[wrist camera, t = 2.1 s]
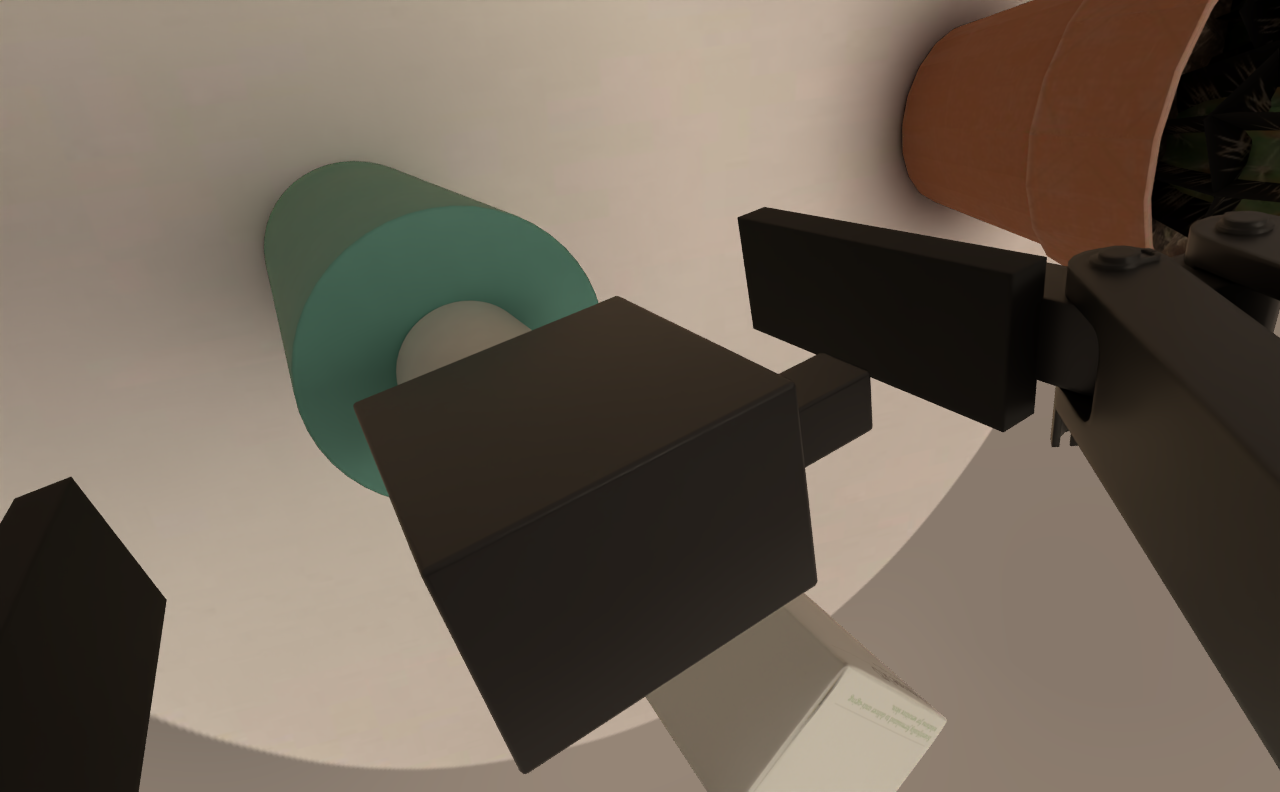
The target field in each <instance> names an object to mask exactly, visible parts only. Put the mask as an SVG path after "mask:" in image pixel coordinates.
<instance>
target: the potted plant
mask: <svg viewBox="0 0 1280 792" xmlns="http://www.w3.org/2000/svg"><path fill="white" fill-rule="evenodd" d="M902 139H903V156H904V160H905V164H906V167H907V171H908V175H909V177H910V179H911V180H912V182H913V183H914V185H915V186H916V188H917V189H918V191H919V192H920V193H921V194H922V195H924V196H926V197H927V198H929V199H931V200H932V201H934V202H936V203H939V204H941V205H944V206H946V207H949V208H952V209H954V210H957V211H959V212H962V213H964V214H967V215H969V216H972V217H974V218H977V219H979V220H982V221H984V222H987V223H989V224H992V225H994V226H997V227H999V228H1002V229H1004V230H1007V231H1010V232H1012V233H1015V234H1017V235H1020V236H1022V237H1025V238H1027V239H1030V240H1032V241H1035V242H1037V243H1040V244H1041V245H1042V247H1043V249H1044V251H1045V253H1046V255H1047V256H1048V257H1050V258H1051V259H1053V260H1055V261H1056V262H1058V263H1059V264H1061V265H1063V266H1068V261H1069V260H1070V259H1071V258H1072V257H1073V256H1074V255H1077V254H1079V253H1082V252H1084V251H1088V250H1093V249H1098V248H1105V247H1110V246H1122V245H1125V246H1132V247H1139V248H1151V249H1154V250H1156V251H1158V252H1160V253H1162V254H1165V255H1167V256H1169V257H1174V256H1177V255H1181V254H1185V251H1186V246H1187V241H1188V235H1189V230H1190V226H1191V225H1192V224H1193V223H1195V222H1196V221H1197V220H1201V219H1204V218H1207V217H1210V216H1217V215H1223V214H1224V213H1226V212H1232V211H1258V212H1263V213H1267V214H1271V215H1277V216H1280V0H1033V1H1030V2H1027V3H1025V4H1022V5H1019V6H1016V7H1013V8H1011V9H1008V10H1005V11H1002V12H999V13H997V14H994V15H991V16H988V17H985V18H983V19H980V20H977V21H974V22H971V23H969V24H966V25H963V26H960V27H957V28H955V29H953V30H952V31H951V32H949V33H948V34H947V35H946V36H945V37H943V38H942V39H941V40H940V41H938V42H937V43H936V44H935V45H934V47H933V48H932V50H931V51H930V53H929V54H928V55H927V57H926V58H925V60H924V61H923V63H922V64H921V66H920V67H919V69H918V72H917V74H916V77H915V79H914V82H913V84H912V87H911V89H910V92H909V94H908V98H907V103H906V108H905V114H904V119H903V124H902Z"/></svg>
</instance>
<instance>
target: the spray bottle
mask: <svg viewBox="0 0 1280 792" xmlns="http://www.w3.org/2000/svg"><path fill="white" fill-rule="evenodd" d="M264 254H265V262H266V267H267V272H268V276H269V281H270V285H271V290H272V295H273V299H274V304H275V309H276V313H277V318H278V322H279V327H280V332H281V336H282V341H283V346H284V350H285V355H286V359H287V364H288V369H289V373H290V378H291V383H292V387H293V392H294V395H295V399H296V403H297V406H298V410H299V413H300V415H301V417H302V420H303V422H304V424H305V426H306V429H307V431H308V432H309V434H310V436H311V437H312V439H313V440H314V442H315V443H316V445H317V446H318V448H319V449H320V450H321V451H322V453H323V454H324V455H325V456H326V457H327V458H328V459H329V460H330V462H331V463H332V464H333V465H335V466H336V467H337V468H338V469H339V470H341V471H342V472H343V473H344V474H345V475H346V476H348V477H349V478H351V479H353V480H354V481H356V482H357V483H359V484H360V485H362V486H364V487H366V488H368V489H370V490H372V491H375V492H377V493H379V494H381V495H384V496H387V497H389V498H390V500H391V503H392V505H393V507H394V510H395V512H396V515H397V517H398V520H399V522H400V525H401V527H402V530H403V532H404V535H405V537H406V540H407V542H408V545H409V547H410V550H411V552H412V555H413V557H414V559H415V562H416V564H417V567H418V569H419V572H420V574H421V577H422V579H423V581H424V583H425V585H426V586H427V588H428V590H429V592H430V594H431V596H432V598H433V600H434V602H435V604H436V606H437V608H438V610H439V612H440V614H441V616H442V618H443V620H444V622H445V624H446V626H447V628H448V630H449V632H450V634H451V636H452V638H453V640H454V642H455V644H456V646H457V648H458V650H459V652H460V654H461V656H462V658H463V660H464V662H465V664H466V666H467V668H468V669H469V671H470V673H471V675H472V677H473V679H474V681H475V683H476V685H477V687H478V689H479V691H480V693H481V695H482V697H483V699H484V701H485V703H486V705H487V707H488V709H489V711H490V713H491V715H492V717H493V719H494V721H495V723H496V725H497V727H498V729H499V731H500V733H501V735H502V737H503V739H504V741H505V743H506V745H507V747H508V749H509V750H510V752H511V754H512V756H513V758H514V760H515V762H516V764H517V766H518V768H519V770H520V771H521V772H522V773H523V774H527V773H529V772H530V771H532V770H534V769H535V768H536V767H538V766H540V765H541V764H543V763H544V762H546V761H547V760H549V759H550V758H552V757H553V756H555V755H556V754H558V753H560V752H561V751H563V750H564V749H566V748H567V747H569V746H570V745H572V744H573V743H575V742H576V741H578V740H579V739H581V738H582V737H584V736H586V735H587V734H589V733H590V732H592V731H593V730H595V729H596V728H598V727H599V726H601V725H602V724H604V723H605V722H607V721H608V720H610V719H612V718H613V717H615V716H616V715H618V714H619V713H621V712H622V711H624V710H625V709H627V708H628V707H630V706H631V705H633V704H634V703H636V702H638V701H639V700H641V699H642V698H644V697H645V696H647V695H648V694H650V693H651V692H653V691H654V690H656V689H657V688H659V687H660V686H662V685H664V684H665V683H667V682H668V681H670V680H671V679H673V678H674V677H676V676H677V675H679V674H680V673H682V672H683V671H685V670H686V669H688V668H690V667H691V666H693V665H694V664H696V663H697V662H699V661H700V660H702V659H703V658H705V657H706V656H708V655H709V654H711V653H712V652H714V651H716V650H717V649H719V648H720V647H722V646H723V645H725V644H726V643H728V642H729V641H731V640H732V639H734V638H735V637H737V636H738V635H740V634H742V633H743V632H745V631H746V630H748V629H749V628H751V627H752V626H754V625H755V624H757V623H758V622H760V621H761V620H763V619H764V618H766V617H768V616H769V615H771V614H772V613H774V612H775V611H777V610H778V609H780V608H781V607H783V606H784V605H786V604H787V603H789V602H790V601H792V600H794V599H795V598H797V597H798V596H800V595H801V594H803V593H804V592H806V591H807V590H809V589H810V588H812V587H813V586H815V585H816V583H817V573H816V564H815V555H814V546H813V537H812V527H811V518H810V509H809V500H808V491H807V482H806V473H805V467H807V466H809V465H810V464H812V463H814V462H816V461H817V460H819V459H821V458H823V457H824V456H826V455H828V454H830V453H831V452H833V451H835V450H837V449H838V448H840V447H842V446H844V445H845V444H847V443H849V442H851V441H852V440H854V439H856V438H858V437H859V436H861V435H863V434H865V433H866V432H868V431H870V430H871V429H872V406H871V385H870V374H869V372H868V371H865V370H863V369H861V368H858V367H856V366H853V365H851V364H849V363H846V362H844V361H841V360H839V359H837V358H834V357H832V356H829V355H827V354H825V353H819V354H818V355H816V356H814V357H812V358H810V359H808V360H806V361H804V362H802V363H800V364H798V365H796V366H794V367H792V368H790V369H788V370H786V371H784V372H782V373H780V374H777V373H775V372H773V371H771V370H769V369H767V368H765V367H763V366H761V365H759V364H756V363H754V362H752V361H750V360H748V359H746V358H744V357H742V356H740V355H738V354H736V353H734V352H732V351H730V350H728V349H726V348H724V347H722V346H720V345H718V344H716V343H713V342H711V341H709V340H707V339H705V338H703V337H701V336H699V335H697V334H695V333H693V332H691V331H689V330H687V329H685V328H683V327H681V326H679V325H677V324H675V323H673V322H670V321H668V320H666V319H664V318H662V317H660V316H658V315H656V314H654V313H652V312H650V311H648V310H646V309H644V308H642V307H640V306H638V305H636V304H634V303H632V302H630V301H627V300H625V299H623V298H621V297H619V296H615V297H612V298H610V299H608V300H605V301H603V302H600V303H598V300H597V297H596V294H595V292H594V290H593V287H592V285H591V283H590V281H589V279H588V277H587V275H586V274H585V272H584V271H583V269H582V268H581V266H580V265H579V263H578V262H577V261H576V259H575V258H574V257H573V256H572V255H571V254H570V253H569V251H568V250H567V249H566V248H565V247H564V246H563V245H562V244H560V243H559V242H558V241H557V240H556V239H555V238H554V237H552V236H551V235H550V234H548V233H547V232H545V231H544V230H542V229H541V228H539V227H538V226H536V225H535V224H533V223H531V222H528V221H526V220H524V219H522V218H520V217H518V216H516V215H513V214H510V213H508V212H505V211H503V210H500V209H497V208H495V207H492V206H489V205H487V204H484V203H482V202H479V201H476V200H474V199H471V198H468V197H466V196H463V195H461V194H458V193H455V192H453V191H450V190H447V189H445V188H442V187H440V186H437V185H434V184H432V183H429V182H427V181H424V180H421V179H419V178H416V177H413V176H411V175H408V174H406V173H403V172H400V171H398V170H395V169H392V168H389V167H386V166H383V165H380V164H375V163H369V162H358V161H350V162H339V163H334V164H330V165H326V166H323V167H320V168H318V169H315V170H313V171H311V172H309V173H307V174H306V175H304V176H302V177H301V178H300V179H298V180H297V181H295V182H294V183H293V184H292V185H291V186H290V187H289V188H288V189H287V190H286V191H285V192H284V193H283V194H282V196H281V197H280V198H279V200H278V201H277V203H276V205H275V206H274V208H273V210H272V212H271V214H270V217H269V220H268V223H267V226H266V232H265V237H264Z"/></svg>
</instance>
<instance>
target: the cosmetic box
mask: <svg viewBox="0 0 1280 792" xmlns="http://www.w3.org/2000/svg"><path fill="white" fill-rule="evenodd" d="M645 697H646V698H647V700H648V701H649V703H650V704H651V706H652V707H653V709H654V711H655V712H656V714H657V715H658V717H659V718H660V720H661V721H662V723H663V725H664V726H665V727H666V729H667V731H668V732H669V734H670V735H671V737H672V738H673V740H674V741H675V743H676V744H677V746H678V747H679V749H680V751H681V752H682V754H683V755H684V757H685V758H686V760H687V761H688V763H689V764H690V766H691V767H692V769H693V771H694V772H695V773H696V775H697V777H698V778H699V780H700V781H701V783H702V784H703V786H704V787H705V789H706V790H707V792H896V791H897V790H898V789H899V787H900V786H901V785H902V783H903V782H904V781H905V779H906V778H907V776H908V775H909V774H910V772H911V771H912V770H913V768H914V767H915V766H916V764H917V763H918V762H919V760H920V759H921V758H922V756H923V755H924V754H925V752H926V751H927V749H928V748H929V747H930V745H931V744H932V743H933V741H934V740H935V738H936V737H937V736H938V734H939V733H940V731H941V730H942V728H943V727H944V725H945V724H946V722H947V719H946V718H945V717H944V716H943V715H941V714H940V713H939V712H938V711H937V710H936V709H935V708H933V707H932V706H931V705H930V704H929V703H928V702H927V701H925V700H924V699H923V698H922V697H921V696H920V695H919V694H918V693H916V692H915V691H914V690H913V689H912V688H911V687H910V686H908V685H907V684H906V683H905V682H904V681H903V680H902V679H900V678H899V677H898V676H897V675H896V674H895V673H894V672H893V671H891V670H890V669H889V668H888V667H887V666H886V665H885V664H884V663H882V662H881V661H880V660H879V659H878V658H877V657H876V656H874V655H873V654H872V653H871V652H870V651H869V650H868V649H867V648H865V647H864V646H863V645H862V644H861V643H860V642H859V641H858V640H856V639H855V638H854V637H853V636H852V635H851V634H850V633H848V632H847V631H846V630H845V629H844V628H843V627H842V626H841V625H839V624H838V623H837V622H836V621H835V620H834V619H833V618H832V617H830V616H829V615H828V614H827V613H826V612H825V611H824V610H823V609H821V608H820V607H819V606H818V605H817V604H816V603H815V602H814V601H812V600H811V599H810V598H809V597H808V596H807V595H806V594H804V593H803V594H801V595H800V596H798V597H797V598H795V599H794V600H792V601H790V602H789V603H787V604H786V605H784V606H783V607H781V608H780V609H778V610H777V611H775V612H774V613H772V614H771V615H769V616H768V617H766V618H764V619H763V620H761V621H760V622H758V623H757V624H755V625H754V626H752V627H751V628H749V629H748V630H746V631H745V632H743V633H742V634H740V635H738V636H737V637H735V638H734V639H732V640H731V641H729V642H728V643H726V644H725V645H723V646H722V647H720V648H719V649H717V650H716V651H714V652H712V653H711V654H709V655H708V656H706V657H705V658H703V659H702V660H700V661H699V662H697V663H696V664H694V665H693V666H691V667H690V668H688V669H686V670H685V671H683V672H682V673H680V674H679V675H677V676H676V677H674V678H673V679H671V680H670V681H668V682H667V683H665V684H664V685H662V686H660V687H659V688H657V689H656V690H654V691H653V692H651V693H650V694H648V695H647V696H645Z"/></svg>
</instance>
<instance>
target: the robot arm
mask: <svg viewBox="0 0 1280 792" xmlns="http://www.w3.org/2000/svg"><path fill="white" fill-rule="evenodd" d="M738 224H739V231H740V238H741V245H742V252H743V259H744V266H745V272H746V279H747V286H748V293H749V300H750V307H751V314H752V321H753V328H754V329H756V330H759V331H761V332H763V333H766V334H768V335H771V336H773V337H775V338H778V339H780V340H783V341H785V342H787V343H790V344H792V345H795V346H797V347H799V348H802V349H804V350H807V351H809V352H811V353H814V354H816V355H818V354H819V353H825V354H827V355H829V356H832V357H834V358H837V359H839V360H841V361H844V362H846V363H849V364H851V365H853V366H856V367H858V368H861V369H863V370H865V371H868V372H869V374H870V377H872V378H874V379H876V380H879V381H881V382H884V383H886V384H888V385H891V386H893V387H896V388H898V389H900V390H903V391H905V392H908V393H910V394H912V395H915V396H917V397H920V398H922V399H924V400H927V401H929V402H932V403H934V404H936V405H939V406H941V407H944V408H946V409H948V410H951V411H953V412H956V413H958V414H960V415H963V416H965V417H968V418H970V419H972V420H975V421H977V422H980V423H982V424H984V425H987V426H989V427H992V428H994V429H996V430H999V431H1001V432H1005V431H1006V430H1008V429H1010V428H1011V427H1013V426H1014V425H1016V424H1017V423H1019V422H1021V421H1022V420H1024V419H1026V418H1027V417H1029V416H1030V415H1032V414H1034V405H1035V394H1036V382H1037V380H1039V381H1042V382H1045V383H1049V384H1051V385H1054V386H1056V388H1055V398H1054V409H1053V419H1052V428H1051V438H1050V440H1051V445H1052V447H1059V443H1060V437H1061V436H1062V435H1063V434H1064V433H1065V432H1067V431H1070V433H1071V437H1070V446H1079V447H1080V449H1081V451H1082V452H1083V454H1084V455H1085V457H1086V459H1087V460H1088V462H1089V463H1090V465H1091V466H1092V468H1093V470H1094V472H1095V473H1096V475H1097V476H1098V478H1099V480H1100V481H1101V483H1102V484H1103V486H1104V488H1105V489H1106V491H1107V492H1108V494H1109V495H1110V497H1111V499H1112V500H1113V502H1114V503H1115V505H1116V507H1117V509H1118V510H1119V512H1120V513H1121V515H1122V516H1123V518H1124V520H1125V521H1126V523H1127V525H1128V526H1129V528H1130V529H1131V531H1132V533H1133V534H1134V536H1135V537H1136V539H1137V541H1138V542H1139V544H1140V545H1141V547H1142V549H1143V550H1144V552H1145V553H1146V555H1147V557H1148V558H1149V560H1150V561H1151V563H1152V565H1153V567H1154V568H1155V570H1156V571H1157V573H1158V575H1159V576H1160V578H1161V579H1162V581H1163V583H1164V584H1165V586H1166V587H1167V589H1168V591H1169V592H1170V594H1171V595H1172V597H1173V599H1174V600H1175V602H1176V603H1177V605H1178V607H1179V608H1180V610H1181V612H1182V613H1183V615H1184V616H1185V618H1186V620H1187V621H1188V623H1189V624H1190V626H1191V628H1192V629H1193V631H1194V633H1195V634H1196V636H1197V637H1198V639H1199V641H1200V642H1201V644H1202V645H1203V647H1204V649H1205V650H1206V652H1207V653H1208V655H1209V657H1210V658H1211V660H1212V662H1213V663H1214V664H1215V666H1216V668H1217V670H1218V671H1219V673H1220V674H1221V676H1222V678H1223V679H1224V681H1225V682H1226V684H1227V685H1228V687H1229V689H1230V691H1231V692H1232V694H1233V695H1234V697H1235V698H1236V700H1237V702H1238V703H1239V705H1240V707H1241V708H1242V710H1243V711H1244V713H1245V715H1246V716H1247V718H1248V719H1249V721H1250V723H1251V724H1252V726H1253V727H1254V729H1255V731H1256V732H1257V734H1258V736H1259V737H1260V739H1261V740H1262V742H1263V744H1264V745H1265V747H1266V748H1267V750H1268V752H1269V753H1270V755H1271V757H1272V758H1273V759H1274V761H1275V763H1276V765H1277V766H1278V768H1279V769H1280V338H1279V337H1278V336H1276V335H1275V334H1274V333H1273V332H1274V328H1275V325H1276V321H1277V317H1278V314H1279V310H1280V216H1277V215H1271V214H1267V213H1263V212H1258V211H1232V212H1226V213H1224V214H1223V215H1217V216H1210V217H1207V218H1204V219H1201V220H1197V221H1196V222H1195V223H1193V224H1192V225H1191V226H1190V230H1189V235H1188V241H1187V246H1186V251H1185V254H1181V255H1177V256H1174V257H1169V256H1167V255H1165V254H1162V253H1160V252H1158V251H1156V250H1154V249H1151V248H1139V247H1132V246H1125V245H1122V246H1110V247H1105V248H1098V249H1093V250H1088V251H1084V252H1082V253H1079V254H1077V255H1074V256H1073V257H1072V258H1071V259H1070V260H1069V261H1068V266H1062V265H1057V264H1052V263H1046V262H1047V257H1044V256H1038V255H1032V254H1027V253H1021V252H1015V251H1010V250H1004V249H998V248H993V247H987V246H982V245H976V244H970V243H965V242H959V241H953V240H948V239H942V238H936V237H931V236H925V235H919V234H914V233H908V232H903V231H897V230H891V229H886V228H880V227H874V226H869V225H863V224H857V223H852V222H846V221H840V220H835V219H829V218H824V217H818V216H812V215H807V214H801V213H795V212H790V211H784V210H778V209H773V208H767V207H763V208H761V209H758V210H756V211H753V212H751V213H748V214H745V215H743V216H740V217H738ZM166 601H167V600H166V599H165V597H164V596H163V595H162V593H161V592H160V591H159V589H158V588H157V587H156V586H155V584H154V583H153V582H152V580H151V579H150V578H149V577H148V575H147V574H146V573H145V571H144V570H143V569H142V568H141V566H140V565H139V564H138V562H137V561H136V560H135V558H134V557H133V556H132V555H131V553H130V552H129V551H128V549H127V548H126V547H125V546H124V544H123V543H122V542H121V540H120V539H119V538H118V536H117V535H116V534H115V533H114V531H113V530H112V529H111V527H110V526H109V525H108V524H107V522H106V521H105V520H104V518H103V517H102V516H101V515H100V513H99V512H98V511H97V509H96V508H95V507H94V505H93V504H92V503H91V502H90V500H89V499H88V498H87V496H86V495H85V494H84V493H83V491H82V490H81V489H80V487H79V486H78V485H77V484H76V482H75V481H74V480H73V478H72V477H69V478H66V479H64V480H61V481H59V482H56V483H54V484H51V485H48V486H46V487H43V488H41V489H38V490H36V491H33V492H30V493H28V494H25V495H23V496H20V497H18V498H15V499H14V501H13V503H12V504H11V506H10V508H9V509H8V511H7V513H6V515H5V516H4V518H3V520H2V522H1V523H0V792H139V785H140V778H141V771H142V764H143V757H144V751H145V744H146V737H147V730H148V724H149V717H150V710H151V703H152V696H153V689H154V683H155V676H156V669H157V662H158V655H159V648H160V642H161V635H162V628H163V621H164V614H165V607H166Z"/></svg>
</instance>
